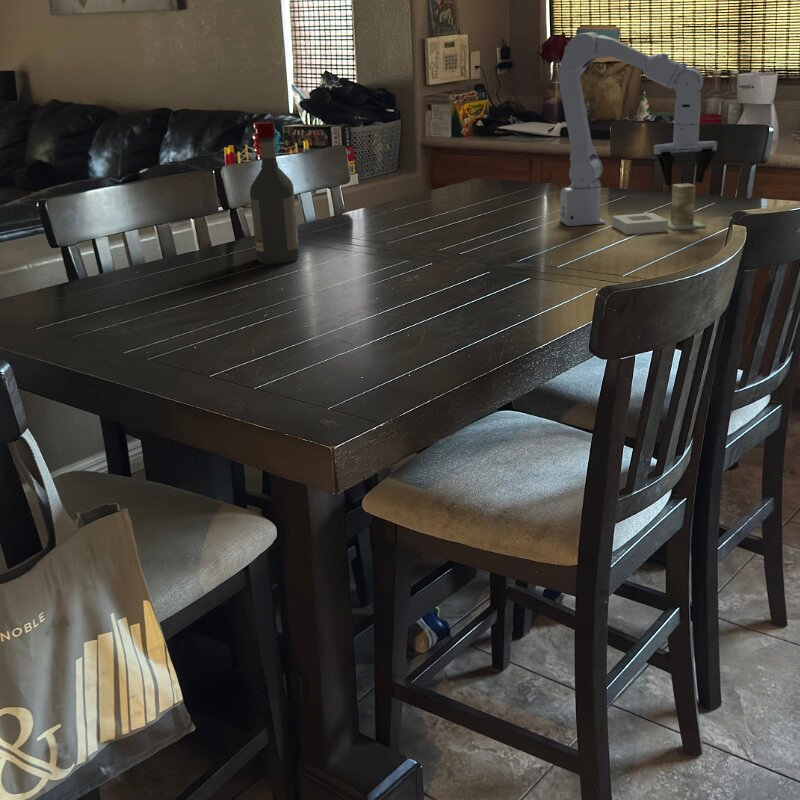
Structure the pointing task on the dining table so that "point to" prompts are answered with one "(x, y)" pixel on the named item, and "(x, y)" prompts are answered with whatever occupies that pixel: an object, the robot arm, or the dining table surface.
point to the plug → (683, 204)
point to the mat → (685, 226)
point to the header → (639, 223)
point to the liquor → (273, 206)
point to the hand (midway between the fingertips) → (683, 183)
